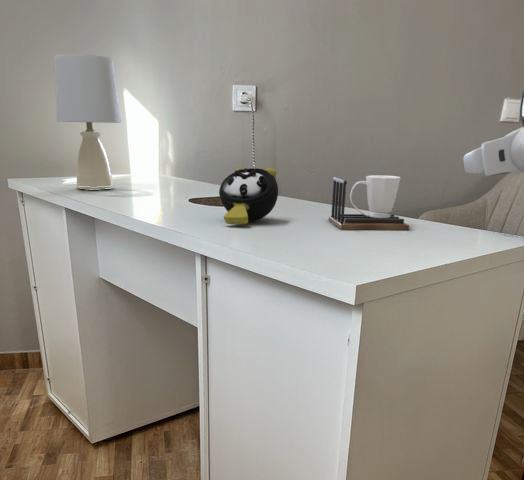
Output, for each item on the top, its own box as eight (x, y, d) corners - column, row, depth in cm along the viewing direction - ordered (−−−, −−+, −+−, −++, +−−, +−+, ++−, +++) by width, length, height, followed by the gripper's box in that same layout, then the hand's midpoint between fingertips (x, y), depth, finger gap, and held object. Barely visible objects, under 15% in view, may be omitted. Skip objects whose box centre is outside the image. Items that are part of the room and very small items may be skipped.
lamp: (128, 186, 185) (119, 62, 171) (122, 192, 168) (112, 55, 154) (70, 186, 183) (57, 60, 169) (58, 192, 166) (42, 52, 152)
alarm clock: (210, 239, 120) (200, 171, 120) (270, 236, 126) (260, 172, 126) (231, 222, 109) (219, 148, 109) (295, 220, 115) (284, 150, 116)
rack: (390, 220, 124) (395, 177, 120) (408, 230, 112) (414, 182, 109) (328, 220, 122) (331, 176, 119) (340, 229, 111) (344, 181, 108)
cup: (398, 219, 113) (403, 178, 110) (349, 217, 114) (352, 176, 111) (394, 214, 120) (398, 175, 117) (347, 213, 121) (350, 174, 118)
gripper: (584, 118, 105) (550, 129, 118) (475, 144, 107) (453, 152, 120) (587, 153, 106) (552, 159, 120) (479, 177, 108) (457, 181, 122)
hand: (502, 156), depth 120 cm, fingers open, 8 cm apart
